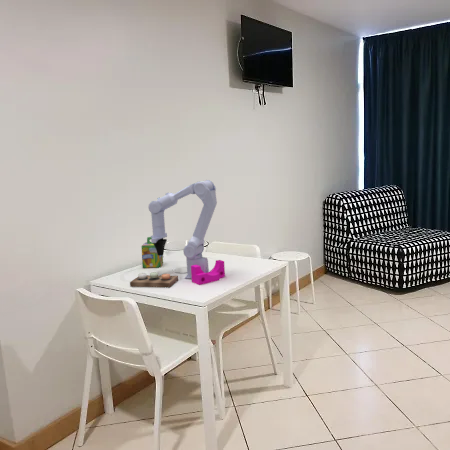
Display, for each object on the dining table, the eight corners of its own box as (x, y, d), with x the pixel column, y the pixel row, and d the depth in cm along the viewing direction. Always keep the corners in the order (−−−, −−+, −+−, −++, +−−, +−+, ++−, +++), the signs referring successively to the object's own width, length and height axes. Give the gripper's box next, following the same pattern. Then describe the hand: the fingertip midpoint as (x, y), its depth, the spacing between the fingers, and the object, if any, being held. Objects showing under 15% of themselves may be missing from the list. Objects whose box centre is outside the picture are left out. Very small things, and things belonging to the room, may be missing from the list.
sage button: (159, 275, 194) (159, 272, 194) (156, 277, 191) (156, 274, 191) (151, 275, 195) (151, 272, 195) (148, 277, 192) (148, 274, 192)
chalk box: (142, 268, 221) (140, 239, 219) (146, 264, 230) (143, 236, 228) (160, 267, 221) (158, 238, 218) (163, 263, 230) (161, 235, 228)
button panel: (178, 280, 197) (178, 275, 196) (169, 287, 186) (169, 282, 186) (140, 279, 201) (140, 274, 201) (130, 286, 190) (129, 281, 190)
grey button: (148, 276, 196) (147, 273, 196) (144, 279, 192) (144, 275, 192) (140, 276, 197) (140, 273, 196) (137, 278, 193) (136, 275, 193)
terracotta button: (171, 277, 193) (171, 273, 193) (168, 279, 190) (168, 275, 190) (163, 277, 194) (163, 273, 194) (160, 279, 191) (160, 275, 190)
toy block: (199, 285, 188) (198, 268, 187) (191, 282, 193) (190, 265, 192) (228, 278, 196) (227, 262, 195) (220, 275, 201) (219, 259, 200)
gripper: (156, 223, 212) (158, 251, 214) (144, 229, 198) (146, 258, 200) (170, 223, 210) (172, 251, 212) (158, 228, 196) (161, 258, 198)
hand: (160, 255), depth 206 cm, fingers closed
